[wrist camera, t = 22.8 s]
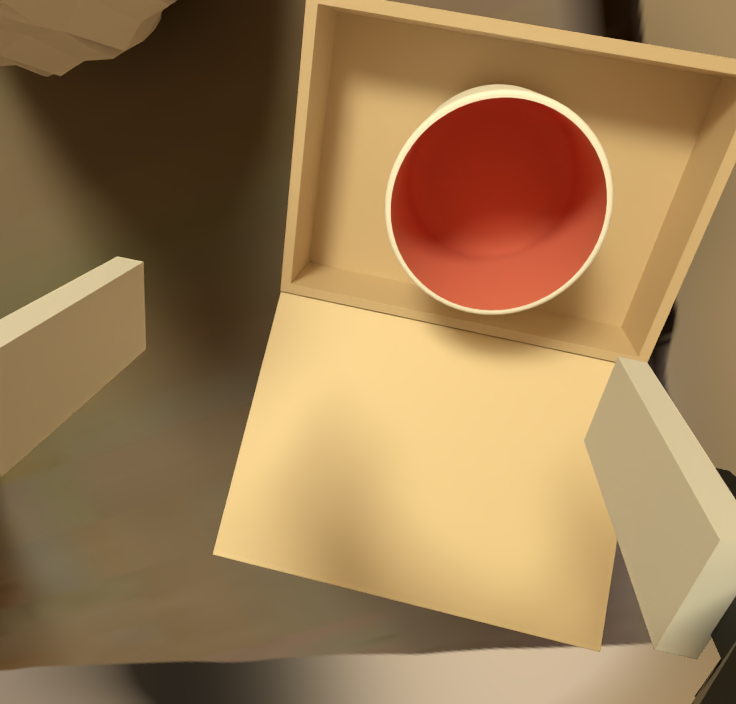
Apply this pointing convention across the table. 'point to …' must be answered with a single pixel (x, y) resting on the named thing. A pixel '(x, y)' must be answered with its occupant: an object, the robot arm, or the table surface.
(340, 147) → the box
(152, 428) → the table surface
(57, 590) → the table surface
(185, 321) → the table surface
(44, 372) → the robot arm
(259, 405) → the lid
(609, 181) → the cup
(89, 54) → the vase
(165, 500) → the table surface
